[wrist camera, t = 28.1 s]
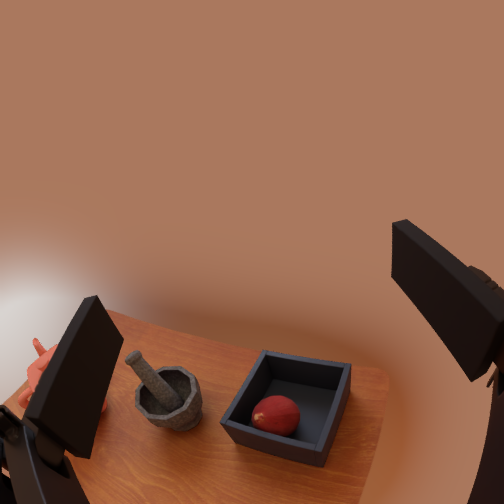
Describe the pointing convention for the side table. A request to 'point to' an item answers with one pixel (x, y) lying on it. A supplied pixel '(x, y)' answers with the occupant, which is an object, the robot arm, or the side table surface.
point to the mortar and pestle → (166, 394)
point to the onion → (276, 416)
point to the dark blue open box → (303, 395)
